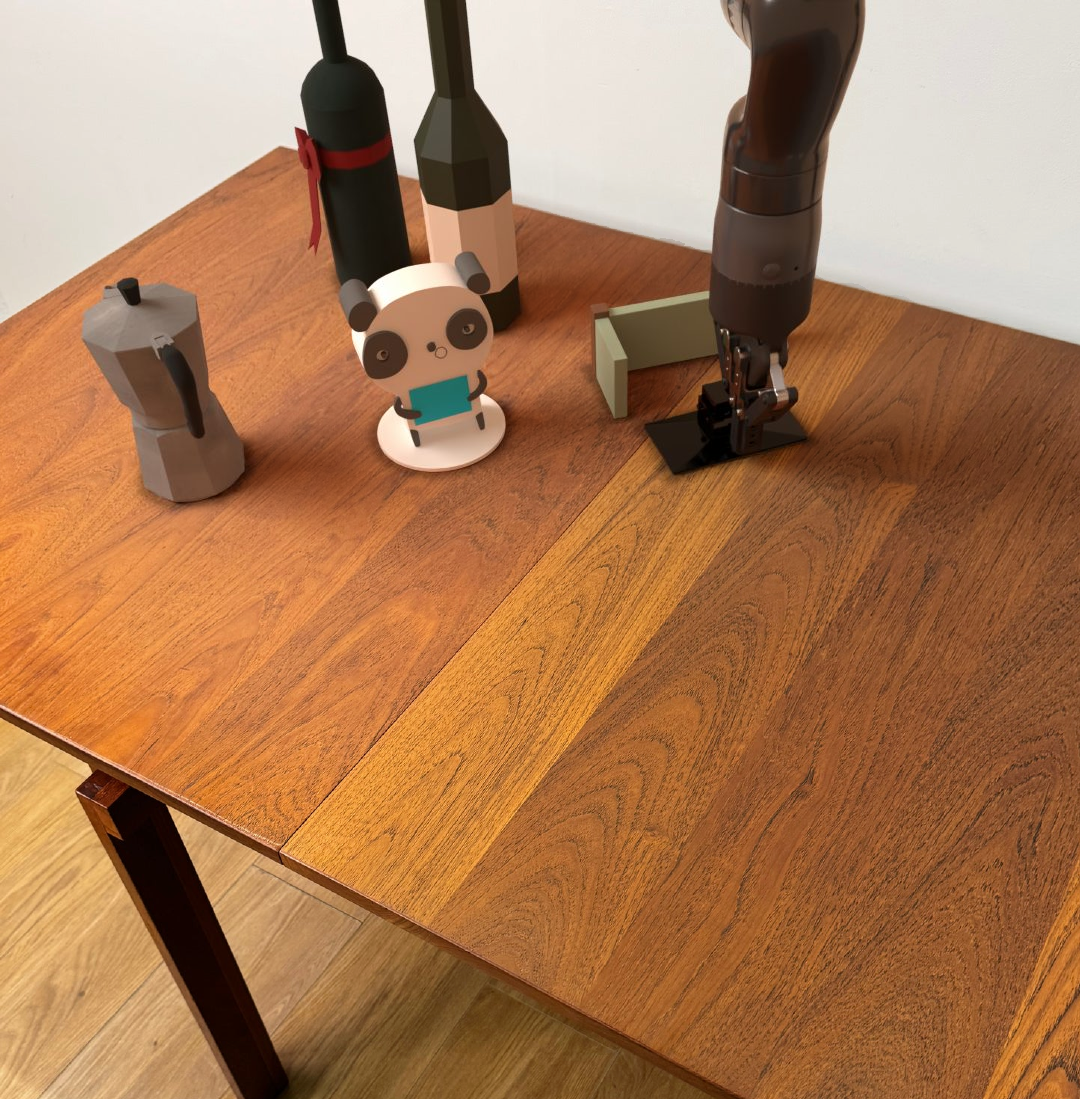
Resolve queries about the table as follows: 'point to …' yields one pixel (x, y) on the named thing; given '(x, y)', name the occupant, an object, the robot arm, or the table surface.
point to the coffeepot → (164, 388)
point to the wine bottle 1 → (351, 159)
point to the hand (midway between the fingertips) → (744, 447)
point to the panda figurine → (428, 361)
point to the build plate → (713, 433)
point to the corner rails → (647, 340)
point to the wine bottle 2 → (466, 167)
